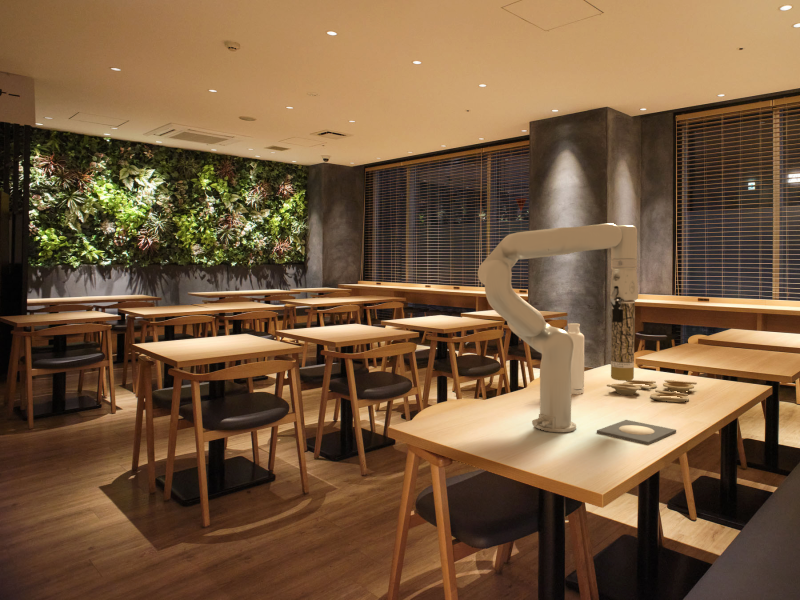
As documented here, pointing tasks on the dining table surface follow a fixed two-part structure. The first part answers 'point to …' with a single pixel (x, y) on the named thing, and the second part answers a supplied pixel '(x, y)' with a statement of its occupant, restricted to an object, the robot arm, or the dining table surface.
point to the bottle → (577, 359)
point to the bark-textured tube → (623, 344)
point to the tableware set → (672, 385)
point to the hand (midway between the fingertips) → (623, 320)
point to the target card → (637, 431)
